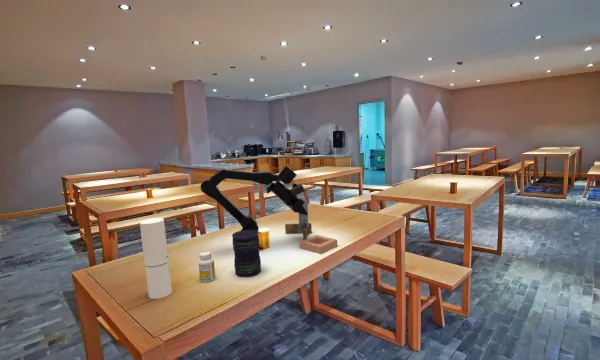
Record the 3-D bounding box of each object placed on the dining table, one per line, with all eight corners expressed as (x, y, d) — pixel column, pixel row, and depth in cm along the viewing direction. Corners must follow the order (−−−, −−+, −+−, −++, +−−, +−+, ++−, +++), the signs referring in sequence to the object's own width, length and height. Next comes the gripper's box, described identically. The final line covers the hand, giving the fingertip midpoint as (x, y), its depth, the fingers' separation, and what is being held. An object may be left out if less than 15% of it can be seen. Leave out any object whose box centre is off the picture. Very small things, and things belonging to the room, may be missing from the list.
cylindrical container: (175, 287, 110) (167, 217, 107) (167, 298, 103) (158, 223, 100) (154, 289, 110) (145, 218, 107) (144, 299, 103) (135, 224, 100)
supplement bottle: (209, 274, 120) (207, 249, 119) (218, 277, 116) (216, 252, 115) (197, 279, 116) (194, 254, 114) (205, 283, 112) (203, 257, 111)
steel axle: (308, 228, 147) (308, 201, 145) (299, 229, 147) (298, 201, 145) (307, 226, 151) (307, 199, 150) (298, 226, 151) (297, 199, 149)
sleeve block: (320, 254, 135) (320, 247, 134) (299, 248, 143) (299, 242, 142) (337, 246, 143) (337, 239, 143) (316, 241, 151) (316, 235, 151)
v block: (304, 240, 154) (304, 230, 153) (284, 233, 166) (283, 224, 165) (319, 235, 160) (319, 225, 159) (299, 229, 172) (298, 220, 172)
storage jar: (266, 271, 120) (263, 233, 118) (244, 280, 113) (240, 239, 111) (252, 264, 127) (249, 228, 125) (230, 272, 121) (226, 234, 119)
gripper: (299, 181, 136) (324, 204, 140) (288, 176, 154) (311, 197, 158) (281, 200, 135) (307, 223, 139) (273, 193, 153) (296, 214, 157)
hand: (306, 213), depth 148 cm, fingers closed on steel axle, 4 cm apart
